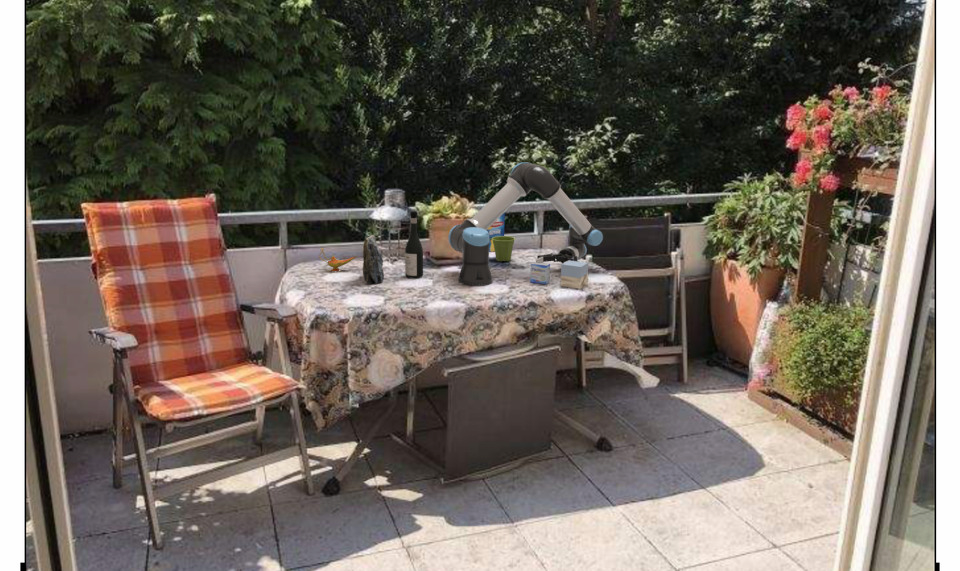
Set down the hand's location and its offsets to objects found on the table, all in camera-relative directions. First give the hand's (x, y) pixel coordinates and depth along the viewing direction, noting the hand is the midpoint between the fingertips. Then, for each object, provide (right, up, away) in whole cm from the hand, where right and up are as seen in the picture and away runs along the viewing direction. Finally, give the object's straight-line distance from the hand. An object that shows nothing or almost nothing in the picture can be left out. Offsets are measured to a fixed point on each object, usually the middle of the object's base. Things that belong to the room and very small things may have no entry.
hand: (550, 264), depth 353 cm
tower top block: (+10, -5, -12) cm, 16 cm away
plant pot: (-20, +3, +34) cm, 40 cm away
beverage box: (-26, +9, +56) cm, 63 cm away
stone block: (-79, -7, -7) cm, 80 cm away
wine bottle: (-62, -6, 0) cm, 62 cm away
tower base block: (+10, -10, -11) cm, 18 cm away
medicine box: (-5, -9, -7) cm, 13 cm away
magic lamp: (-98, -3, +9) cm, 98 cm away
